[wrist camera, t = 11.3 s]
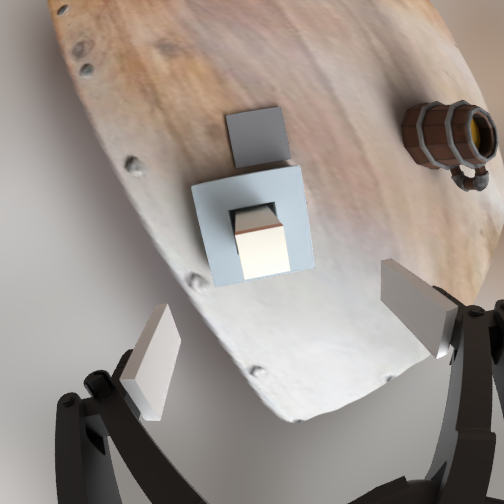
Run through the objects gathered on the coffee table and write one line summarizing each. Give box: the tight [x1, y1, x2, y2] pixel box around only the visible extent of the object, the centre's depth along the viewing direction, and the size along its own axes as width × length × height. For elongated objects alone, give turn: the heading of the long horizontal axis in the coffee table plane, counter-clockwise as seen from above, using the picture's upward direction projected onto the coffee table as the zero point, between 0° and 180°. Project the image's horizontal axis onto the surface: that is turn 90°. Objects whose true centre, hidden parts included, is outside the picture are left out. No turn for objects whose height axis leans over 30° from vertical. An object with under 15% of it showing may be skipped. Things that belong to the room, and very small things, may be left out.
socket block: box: [191, 166, 315, 287], centre depth 38 cm, size 14×14×6 cm
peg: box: [235, 205, 290, 280], centre depth 32 cm, size 4×4×14 cm
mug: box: [401, 100, 498, 192], centre depth 32 cm, size 16×12×15 cm
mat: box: [226, 107, 291, 169], centre depth 37 cm, size 8×8×1 cm
